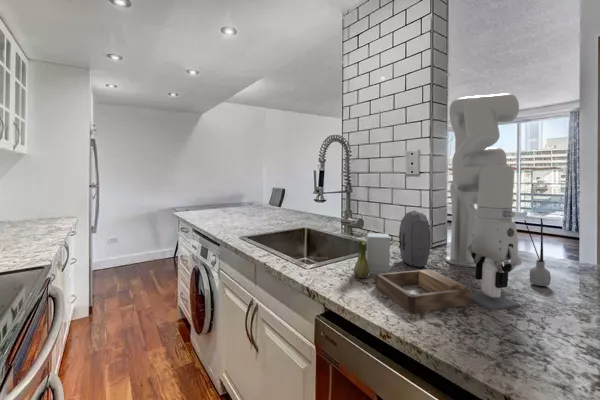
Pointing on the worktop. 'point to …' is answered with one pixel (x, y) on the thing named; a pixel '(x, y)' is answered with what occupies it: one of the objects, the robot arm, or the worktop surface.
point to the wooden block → (437, 281)
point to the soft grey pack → (414, 239)
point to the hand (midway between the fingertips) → (490, 282)
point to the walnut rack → (418, 302)
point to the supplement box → (378, 253)
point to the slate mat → (492, 301)
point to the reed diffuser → (539, 266)
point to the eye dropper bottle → (490, 278)
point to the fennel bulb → (361, 262)
